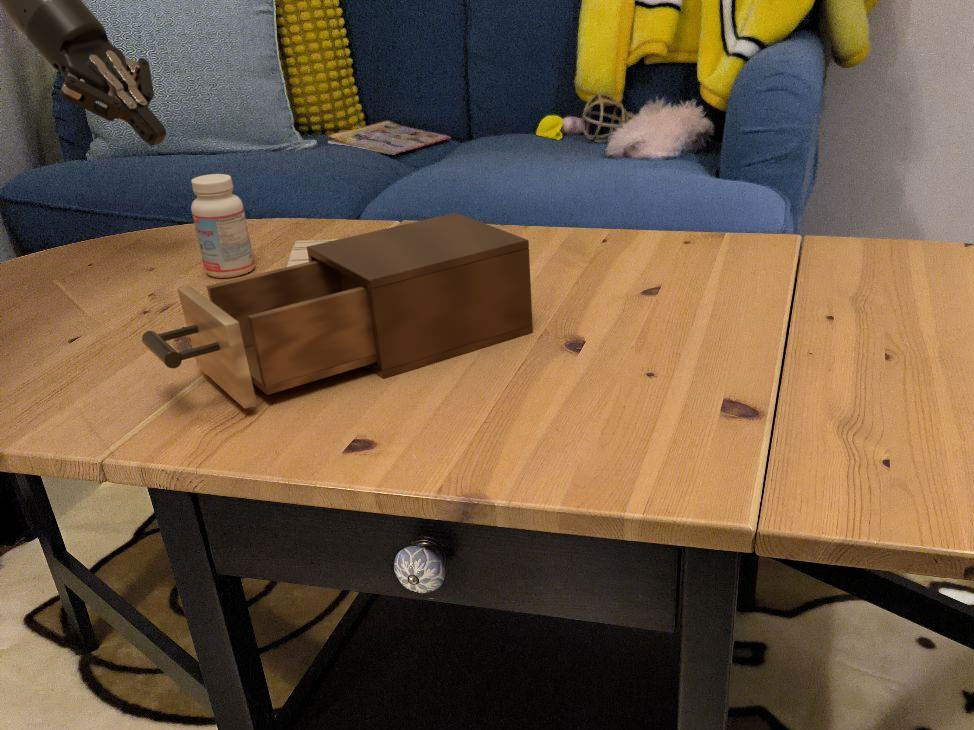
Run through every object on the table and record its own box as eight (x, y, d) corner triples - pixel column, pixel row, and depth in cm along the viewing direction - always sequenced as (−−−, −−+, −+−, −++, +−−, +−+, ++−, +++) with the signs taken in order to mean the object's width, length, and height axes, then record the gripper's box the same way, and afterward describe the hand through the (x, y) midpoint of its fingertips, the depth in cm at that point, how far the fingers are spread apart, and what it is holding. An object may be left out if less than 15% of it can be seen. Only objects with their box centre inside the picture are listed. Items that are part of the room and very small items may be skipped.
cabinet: (383, 378, 92) (369, 280, 87) (322, 337, 101) (306, 246, 96) (533, 332, 100) (528, 239, 95) (463, 298, 110) (456, 212, 104)
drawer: (190, 425, 83) (167, 340, 79) (146, 379, 92) (123, 300, 87) (406, 359, 93) (397, 280, 89) (349, 324, 102) (337, 250, 98)
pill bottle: (199, 270, 122) (177, 178, 115) (245, 260, 125) (226, 169, 118) (216, 282, 118) (194, 187, 111) (263, 271, 120) (244, 178, 114)
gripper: (13, -1, 103) (130, 131, 106) (106, -16, 113) (210, 106, 116) (-5, 50, 108) (107, 175, 111) (85, 31, 118) (186, 147, 121)
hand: (159, 139), depth 114 cm, fingers closed
